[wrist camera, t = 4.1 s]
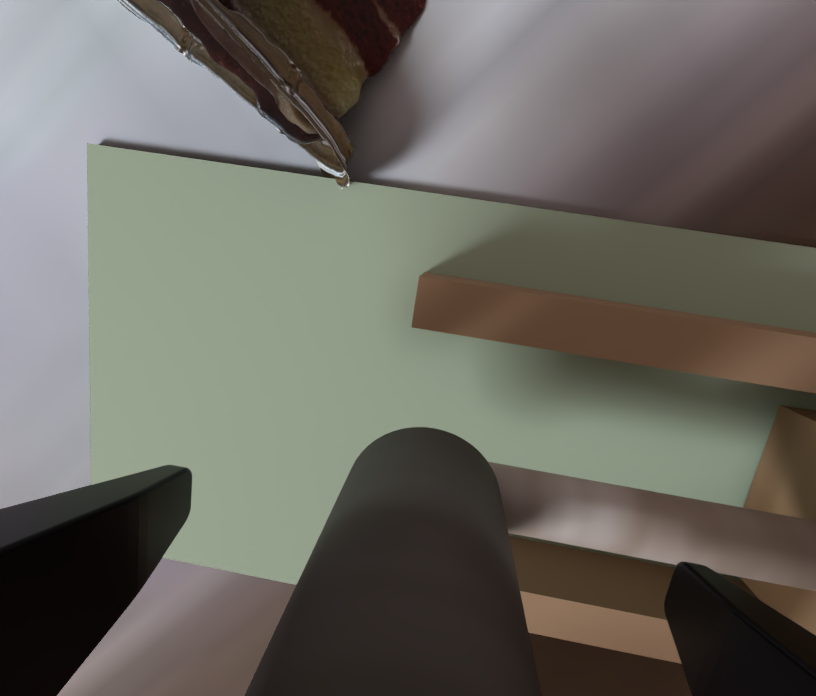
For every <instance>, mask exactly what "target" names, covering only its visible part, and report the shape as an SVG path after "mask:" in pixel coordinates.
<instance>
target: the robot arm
mask: <svg viewBox="0 0 816 696" xmlns="http://www.w3.org/2000/svg"><path fill="white" fill-rule="evenodd" d="M191 495H192V472H191V470H190V469H189V468H186V467H181V466H176V465H164V466H161V467H157V468H153V469H149V470H146V471H142V472H138V473H134V474H131V475H127V476H123V477H119V478H116V479H112V480H108V481H104V482H101V483H97V484H93V485H89V486H86V487H82V488H78V489H74V490H71V491H67V492H63V493H59V494H56V495H52V496H48V497H44V498H41V499H37V500H33V501H29V502H26V503H22V504H18V505H14V506H11V507H7V508H3V509H0V696H57V694H58V693H59V692H60V691H61V689H62V688H63V687H64V686H65V684H66V683H67V682H68V681H69V679H70V678H71V677H72V676H73V674H74V673H75V672H76V671H77V669H78V668H79V667H80V666H81V664H82V663H83V662H84V661H85V659H86V658H87V657H88V656H89V654H90V653H91V652H92V651H93V650H94V648H95V647H96V646H97V645H98V643H99V642H100V641H101V640H102V638H103V637H104V636H105V635H106V633H107V632H108V631H109V630H110V628H111V627H112V626H113V625H114V623H115V622H116V621H117V620H118V618H119V617H120V616H121V615H122V613H123V612H124V611H125V610H126V608H127V607H128V606H129V605H130V603H131V602H132V601H133V599H134V598H135V597H136V595H137V594H138V593H139V591H140V590H141V588H142V587H143V586H144V584H145V583H146V581H147V580H148V578H149V577H150V575H151V574H152V572H153V571H154V569H155V568H156V566H157V565H158V563H159V562H160V560H161V559H162V557H163V556H164V554H165V553H166V551H167V549H168V548H169V546H170V545H171V543H172V542H173V540H174V539H175V537H176V536H177V534H178V533H179V531H180V530H181V528H182V527H183V525H184V524H185V522H186V520H187V518H188V516H189V513H190V510H191ZM664 611H665V616H666V619H667V622H668V625H669V628H670V631H671V634H672V637H673V640H674V643H675V646H676V649H677V652H678V655H679V658H680V661H681V663H682V666H683V669H684V672H685V675H686V678H687V681H688V684H689V687H690V690H691V693H692V696H816V635H814V634H813V633H811V632H809V631H808V630H806V629H805V628H803V627H802V626H800V625H798V624H797V623H795V622H794V621H792V620H791V619H789V618H787V617H786V616H784V615H783V614H781V613H779V612H778V611H776V610H775V609H773V608H772V607H770V606H768V605H767V604H765V603H764V602H762V601H761V600H759V599H757V598H756V597H754V596H753V595H751V594H750V593H748V592H746V591H745V590H743V589H742V588H740V587H739V586H737V585H735V584H734V583H732V582H731V581H729V580H727V579H726V578H724V577H723V576H721V575H720V574H718V573H716V572H715V571H713V570H712V569H710V568H709V567H707V566H704V565H701V564H696V563H690V562H684V561H682V562H680V563H678V564H677V565H676V566H675V569H674V572H673V575H672V578H671V581H670V584H669V587H668V590H667V593H666V596H665V600H664Z"/></svg>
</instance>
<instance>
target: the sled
mask: <svg viewBox="0 0 816 696" xmlns="http://www.w3.org/2000/svg"><path fill="white" fill-rule="evenodd" d="M508 533H511V534H516V535H522V536H527V537H532V538H537V539H543V540H548V541H553V542H558V543H564V544H569V545H574V546H579V547H585V548H590V549H595V550H600V551H606V552H611V553H616V554H622V555H627V556H632V557H637V558H643V559H648V560H653V561H658V562H664V563H669V564H674V565H677V564H678V563H680V562H682V561H684V562H690V563H696V564H701V565H704V566H707V567H709V568H710V569H712V570H713V571H715V572H716V573H721V574H727V575H732V576H737V577H740V578H741V579H742V580H743V582H744V583H745V584H746V585H747V586H748V587H749V588H750V589H751V591H752V592H753V593H754V594H755V595H756V596H757V597H758V598H759V600H761V601H762V602H764V603H765V604H767V605H768V606H770V607H772V608H773V609H775V610H776V611H778V612H779V613H781V614H783V615H784V616H786V617H787V618H789V619H791V620H792V621H794V622H795V623H797V624H798V625H800V626H802V627H803V628H805V629H806V630H808V631H809V632H811V633H813V634H814V635H816V411H812V410H806V409H800V408H794V407H788V406H782V405H779V408H778V411H777V413H776V416H775V419H774V422H773V425H772V428H771V431H770V433H769V436H768V439H767V442H766V445H765V448H764V450H763V453H762V456H761V459H760V462H759V465H758V467H757V470H756V473H755V476H754V479H753V482H752V484H751V487H750V490H749V493H748V496H747V499H746V501H745V504H744V507H743V508H742V507H736V506H731V505H725V504H720V503H714V502H709V501H703V500H698V499H692V498H686V497H681V496H675V495H670V494H664V493H659V492H653V491H648V490H642V489H637V488H631V487H626V486H620V485H615V484H609V483H603V482H598V481H592V480H587V479H581V478H576V477H570V476H565V475H559V474H554V473H548V472H543V471H537V470H532V469H526V468H521V467H515V466H509V465H504V464H498V463H493V462H488V461H487V460H486V459H485V457H484V456H483V455H482V454H481V453H480V452H479V451H478V450H477V449H476V448H475V447H474V446H473V445H471V444H470V443H468V442H467V441H465V440H464V439H462V438H460V437H458V436H457V435H455V434H452V433H449V432H447V431H444V430H440V429H435V428H428V427H411V428H403V429H399V430H396V431H392V432H390V433H388V434H385V435H383V436H381V437H380V438H378V439H376V440H375V441H373V442H372V443H371V444H369V445H368V446H367V447H366V448H365V449H364V450H363V451H362V452H361V454H360V455H359V456H358V458H357V459H356V460H355V462H354V464H353V466H352V468H351V470H350V472H349V474H348V476H347V479H346V481H345V483H344V485H343V487H342V489H341V491H340V494H339V496H338V498H337V500H336V502H335V504H334V506H333V508H332V511H331V513H330V515H329V517H328V519H327V521H326V523H325V525H324V528H323V530H322V532H321V534H320V536H319V538H318V540H317V542H316V545H315V547H314V549H313V551H312V553H311V555H310V557H309V560H308V562H307V564H306V566H305V568H304V570H303V572H302V574H301V577H300V579H299V581H298V583H297V585H296V587H295V589H294V591H293V594H292V596H291V598H290V600H289V602H288V604H287V606H286V609H285V611H284V613H283V615H282V617H281V619H280V621H279V623H278V626H277V628H276V630H275V632H274V634H273V636H272V638H271V640H270V643H269V645H268V647H267V649H266V651H265V653H264V655H263V657H262V660H261V662H260V664H259V666H258V668H257V670H256V672H255V675H254V677H253V679H252V681H251V683H250V685H249V687H248V689H247V692H246V694H245V696H541V693H540V688H539V683H538V678H537V673H536V668H535V663H534V658H533V653H532V648H531V643H530V638H529V633H528V628H527V623H526V618H525V613H524V608H523V603H522V598H521V593H520V588H519V584H518V579H517V574H516V569H515V564H514V559H513V554H512V549H511V544H510V539H509V534H508Z"/></svg>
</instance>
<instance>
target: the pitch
mask: <svg viewBox="0 0 816 696" xmlns="http://www.w3.org/2000/svg"><path fill="white" fill-rule="evenodd" d="M87 183H88V274H89V366H90V457H91V485H93V484H97V483H101V482H104V481H108V480H112V479H116V478H119V477H123V476H127V475H131V474H134V473H138V472H142V471H146V470H149V469H153V468H157V467H161V466H164V465H176V466H181V467H186V468H189V469H190V470H191V472H192V495H191V510H190V513H189V516H188V518H187V520H186V522H185V524H184V525H183V527H182V528H181V530H180V531H179V533H178V534H177V536H176V537H175V539H174V540H173V542H172V543H171V545H170V546H169V548H168V549H167V551H166V553H165V554H164V556H163V557H162V558H167V559H172V560H177V561H182V562H187V563H191V564H196V565H201V566H206V567H211V568H216V569H221V570H226V571H231V572H236V573H240V574H245V575H250V576H255V577H260V578H265V579H270V580H275V581H280V582H285V583H290V584H294V585H297V583H298V581H299V579H300V577H301V574H302V572H303V570H304V568H305V566H306V564H307V562H308V560H309V557H310V555H311V553H312V551H313V549H314V547H315V545H316V542H317V540H318V538H319V536H320V534H321V532H322V530H323V528H324V525H325V523H326V521H327V519H328V517H329V515H330V513H331V511H332V508H333V506H334V504H335V502H336V500H337V498H338V496H339V494H340V491H341V489H342V487H343V485H344V483H345V481H346V479H347V476H348V474H349V472H350V470H351V468H352V466H353V464H354V462H355V460H356V459H357V458H358V456H359V455H360V454H361V452H362V451H363V450H364V449H365V448H366V447H367V446H368V445H369V444H371V443H372V442H373V441H375V440H376V439H378V438H380V437H381V436H383V435H385V434H388V433H390V432H392V431H396V430H399V429H403V428H411V427H428V428H435V429H440V430H444V431H447V432H449V433H452V434H455V435H457V436H458V437H460V438H462V439H464V440H465V441H467V442H468V443H470V444H471V445H473V446H474V447H475V448H476V449H477V450H478V451H479V452H480V453H481V454H482V455H483V456H484V457H485V459H486V460H487V461H488V462H493V463H498V464H504V465H509V466H515V467H521V468H526V469H532V470H537V471H543V472H548V473H554V474H559V475H565V476H570V477H576V478H581V479H587V480H592V481H598V482H603V483H609V484H615V485H620V486H626V487H631V488H637V489H642V490H648V491H653V492H659V493H664V494H670V495H675V496H681V497H686V498H692V499H698V500H703V501H709V502H714V503H720V504H725V505H731V506H736V507H742V508H743V507H744V504H745V501H746V499H747V496H748V493H749V490H750V487H751V484H752V482H753V479H754V476H755V473H756V470H757V467H758V465H759V462H760V459H761V456H762V453H763V450H764V448H765V445H766V442H767V439H768V436H769V433H770V431H771V428H772V425H773V422H774V419H775V416H776V413H777V411H778V408H779V405H782V406H788V407H794V408H800V409H806V410H812V411H816V248H812V247H805V246H798V245H791V244H784V243H777V242H770V241H763V240H756V239H750V238H743V237H736V236H729V235H722V234H715V233H708V232H701V231H694V230H687V229H680V228H673V227H666V226H659V225H652V224H645V223H638V222H631V221H624V220H617V219H610V218H603V217H596V216H589V215H583V214H576V213H569V212H562V211H555V210H548V209H541V208H534V207H527V206H520V205H513V204H506V203H499V202H492V201H485V200H478V199H471V198H464V197H457V196H450V195H443V194H436V193H429V192H423V191H416V190H409V189H402V188H395V187H388V186H381V185H374V184H367V183H360V182H353V181H349V187H348V186H346V185H345V187H343V189H341V187H340V186H339V185H338V184H337V182H336V179H332V178H325V177H318V176H311V175H304V174H297V173H290V172H283V171H276V170H269V169H262V168H256V167H249V166H242V165H235V164H228V163H221V162H214V161H207V160H200V159H193V158H186V157H179V156H172V155H165V154H158V153H151V152H144V151H137V150H130V149H123V148H116V147H109V146H102V145H95V144H89V143H87ZM508 534H509V539H510V544H511V549H512V554H513V559H514V564H515V569H516V574H517V579H518V584H519V588H520V593H521V598H522V603H523V608H524V613H525V618H526V623H527V628H528V633H533V634H538V635H543V636H548V637H553V638H557V639H562V640H567V641H572V642H577V643H582V644H587V645H592V646H597V647H602V648H606V649H611V650H616V651H621V652H626V653H631V654H636V655H641V656H646V657H651V658H655V659H660V660H665V661H670V662H675V663H680V664H682V663H681V661H680V658H679V655H678V652H677V649H676V646H675V643H674V640H673V637H672V634H671V631H670V628H669V625H668V622H667V619H666V616H665V611H664V600H665V596H666V593H667V590H668V587H669V584H670V581H671V578H672V575H673V572H674V569H675V566H676V565H674V564H669V563H664V562H658V561H653V560H648V559H643V558H637V557H632V556H627V555H622V554H616V553H611V552H606V551H600V550H595V549H590V548H585V547H579V546H574V545H569V544H564V543H558V542H553V541H548V540H543V539H537V538H532V537H527V536H522V535H516V534H511V533H508ZM718 574H720V575H721V576H723V577H724V578H726V579H727V580H729V581H731V582H732V583H734V584H735V585H737V586H739V587H740V588H742V589H743V590H745V591H746V592H748V593H750V594H751V595H753V596H754V597H756V598H757V599H759V598H758V597H757V596H756V595H755V594H754V593H753V592H752V591H751V589H750V588H749V587H748V586H747V585H746V584H745V583H744V582H743V580H742V579H741V578H740V577H737V576H732V575H727V574H721V573H718Z"/></svg>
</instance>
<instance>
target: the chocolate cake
mask: <svg viewBox="0 0 816 696" xmlns="http://www.w3.org/2000/svg"><path fill="white" fill-rule="evenodd" d="M118 1H119V2H120V3H121V4H122V5H123V6H124V7H126V8H127V9H128V10H129V11H131V12H132V13H133V14H134V15H135V16H137V17H138V18H139V19H141V20H143V21H145V22H148V23H149V24H151V25H152V26H153V27H154V29H155V30H157V31H158V32H160V33H161V34H162V35H163V36H164V38H166V39H167V40H168V41H170V42H171V43H172V44H173V45H174V46H175V48H176V50H178V51H179V52H181V53H182V54H183V55H185V56H186V57H187V58H188V59H189V60H190V61H191V62H194V63H196V64H198V65H200V66H202V67H204V68H206V69H208V70H209V71H210V72H211V73H212V74H213V75H214V76H215V77H217V78H221V79H222V80H223V81H224V82H225V83H226V84H227V85H228V86H229V88H230V89H231V90H232V91H233V92H234V93H236V94H237V95H238V96H239V97H240V98H241V99H242V100H243V101H245V102H246V103H248V104H249V105H251V106H252V107H254V108H255V109H256V110H257V111H258V112H259V113H260V115H261V116H262V117H264V118H266V119H267V120H268V121H270V122H271V123H272V124H274V126H275V127H276V128H277V129H278V131H279V132H280V133H282V134H285V135H286V136H287V138H288V139H290V140H291V141H292V142H294V143H296V144H298V145H299V146H300V147H302V148H303V149H305V150H306V151H307V152H308V153H309V154H310V155H311V156H312V157H313V158H314V159H315V160H316V162H317V163H318V165H319V167H320V169H321V171H322V173H323V175H324V176H325V178H332V179H336V182H337V184H338V185H339V186H340V187H341V189H343V187H345V185H346V186H348V187H349V179H350V178H349V176H348V174H347V169H346V168H347V164H348V162H349V161H350V159H351V157H352V155H353V153H354V147H353V145H352V143H351V142H350V141H349V139H348V137H347V135H346V134H345V131H344V128H343V126H342V125H341V124H340V123H339V122H338V121H337V120H338V119H339V118H340V117H342V116H343V115H344V114H346V113H347V111H348V110H349V109H350V108H352V107H353V106H354V105H355V104H356V103H357V102H358V100H359V97H360V89H361V86H362V84H363V82H364V81H365V80H366V79H367V78H368V77H371V76H374V75H375V74H376V73H377V72H379V71H380V70H381V69H382V67H383V66H384V65H385V64H386V62H387V61H388V58H389V56H390V54H391V52H392V51H393V50H394V49H395V48H396V47H397V46H398V45H399V42H400V39H401V37H402V35H403V33H404V31H405V30H406V29H408V28H409V27H410V26H411V25H412V24H413V23H414V22H415V21H416V19H417V17H418V16H419V14H420V13H421V12H422V10H423V8H424V5H425V1H426V0H118Z"/></svg>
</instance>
